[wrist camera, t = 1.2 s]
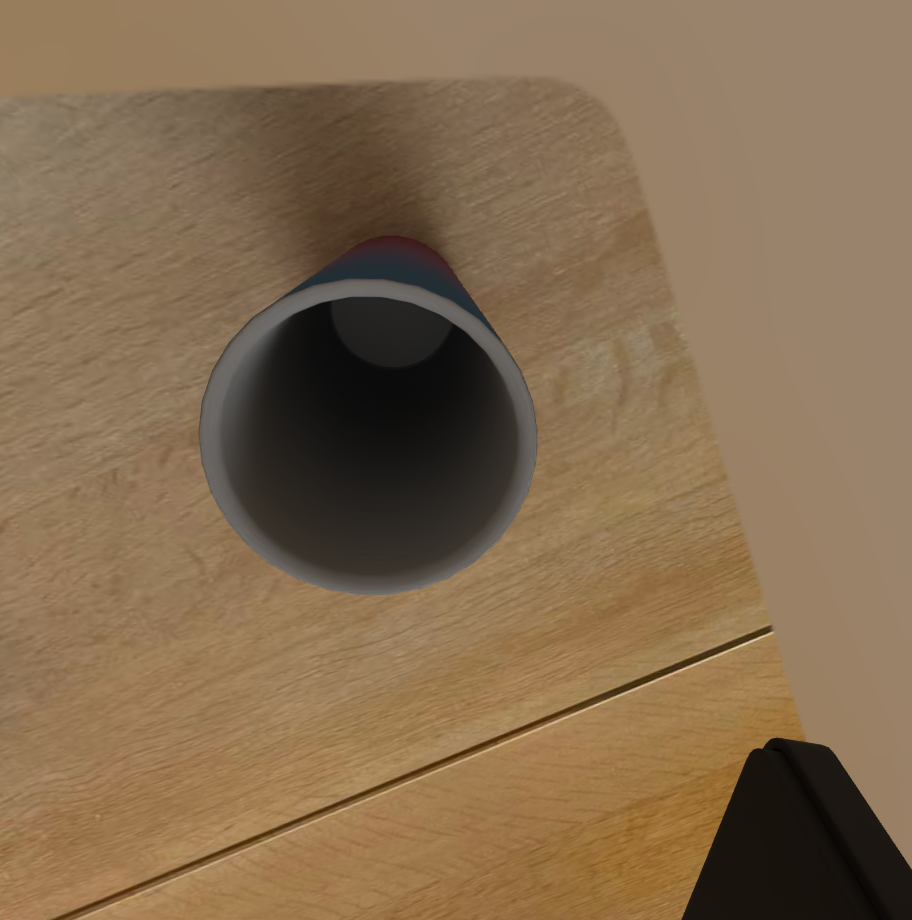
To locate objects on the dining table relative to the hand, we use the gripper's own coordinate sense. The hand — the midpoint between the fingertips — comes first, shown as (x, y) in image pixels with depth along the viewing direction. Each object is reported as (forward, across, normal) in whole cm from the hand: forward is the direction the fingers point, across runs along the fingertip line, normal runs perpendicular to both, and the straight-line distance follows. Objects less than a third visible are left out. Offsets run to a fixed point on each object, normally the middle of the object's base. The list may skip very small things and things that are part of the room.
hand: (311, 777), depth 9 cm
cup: (+24, 0, -1) cm, 24 cm away
